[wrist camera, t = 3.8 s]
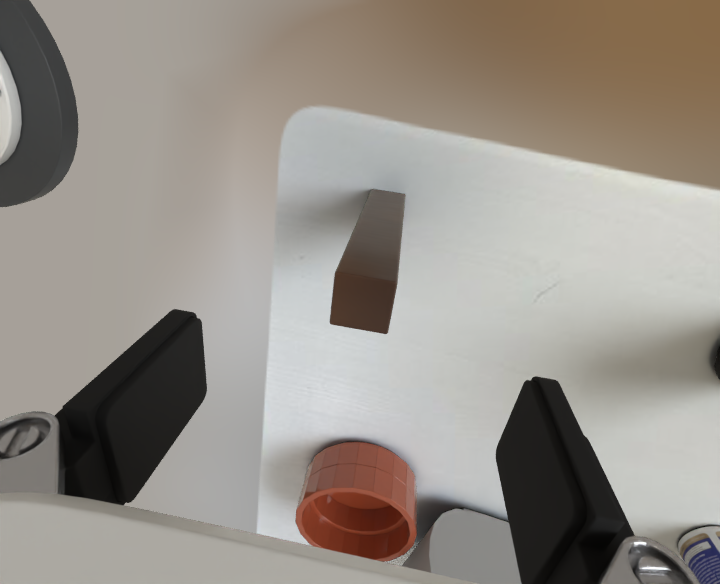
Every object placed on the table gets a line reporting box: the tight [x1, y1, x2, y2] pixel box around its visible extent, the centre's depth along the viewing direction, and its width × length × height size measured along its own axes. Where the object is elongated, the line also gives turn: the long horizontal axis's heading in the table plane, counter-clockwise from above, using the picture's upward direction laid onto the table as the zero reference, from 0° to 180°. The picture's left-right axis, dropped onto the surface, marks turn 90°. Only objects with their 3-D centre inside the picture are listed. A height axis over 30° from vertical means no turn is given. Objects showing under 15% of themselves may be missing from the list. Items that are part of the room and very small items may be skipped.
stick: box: [330, 189, 405, 334], centre depth 21 cm, size 2×2×14 cm
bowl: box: [296, 442, 417, 562], centre depth 38 cm, size 11×11×6 cm
